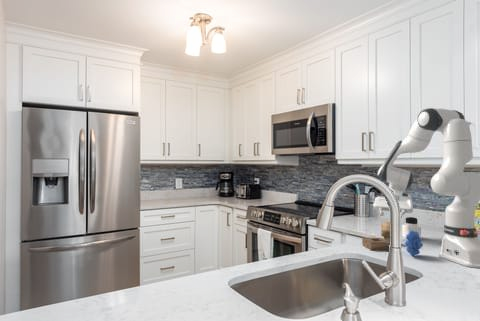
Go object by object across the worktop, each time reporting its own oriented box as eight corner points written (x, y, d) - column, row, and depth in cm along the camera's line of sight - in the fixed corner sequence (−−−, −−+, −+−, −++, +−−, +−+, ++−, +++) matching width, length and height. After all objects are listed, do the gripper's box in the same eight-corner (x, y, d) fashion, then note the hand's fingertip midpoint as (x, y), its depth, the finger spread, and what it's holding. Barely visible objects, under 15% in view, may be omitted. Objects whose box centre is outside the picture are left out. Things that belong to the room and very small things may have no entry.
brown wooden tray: (391, 250, 154) (391, 242, 154) (371, 250, 153) (371, 242, 153) (381, 245, 164) (381, 237, 164) (362, 245, 163) (362, 237, 163)
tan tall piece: (394, 244, 165) (395, 223, 165) (384, 244, 165) (384, 223, 165) (389, 242, 171) (389, 222, 171) (379, 242, 171) (379, 221, 171)
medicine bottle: (421, 239, 178) (421, 218, 178) (408, 239, 178) (408, 218, 178) (414, 237, 185) (414, 216, 185) (402, 236, 185) (402, 216, 185)
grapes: (416, 260, 138) (416, 233, 138) (401, 256, 143) (401, 230, 144) (429, 256, 144) (429, 230, 145) (414, 253, 150) (414, 227, 150)
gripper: (374, 192, 187) (369, 210, 179) (413, 194, 174) (410, 214, 166) (376, 199, 190) (372, 217, 182) (415, 202, 177) (411, 222, 170)
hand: (390, 216), depth 174 cm, fingers open, 8 cm apart
